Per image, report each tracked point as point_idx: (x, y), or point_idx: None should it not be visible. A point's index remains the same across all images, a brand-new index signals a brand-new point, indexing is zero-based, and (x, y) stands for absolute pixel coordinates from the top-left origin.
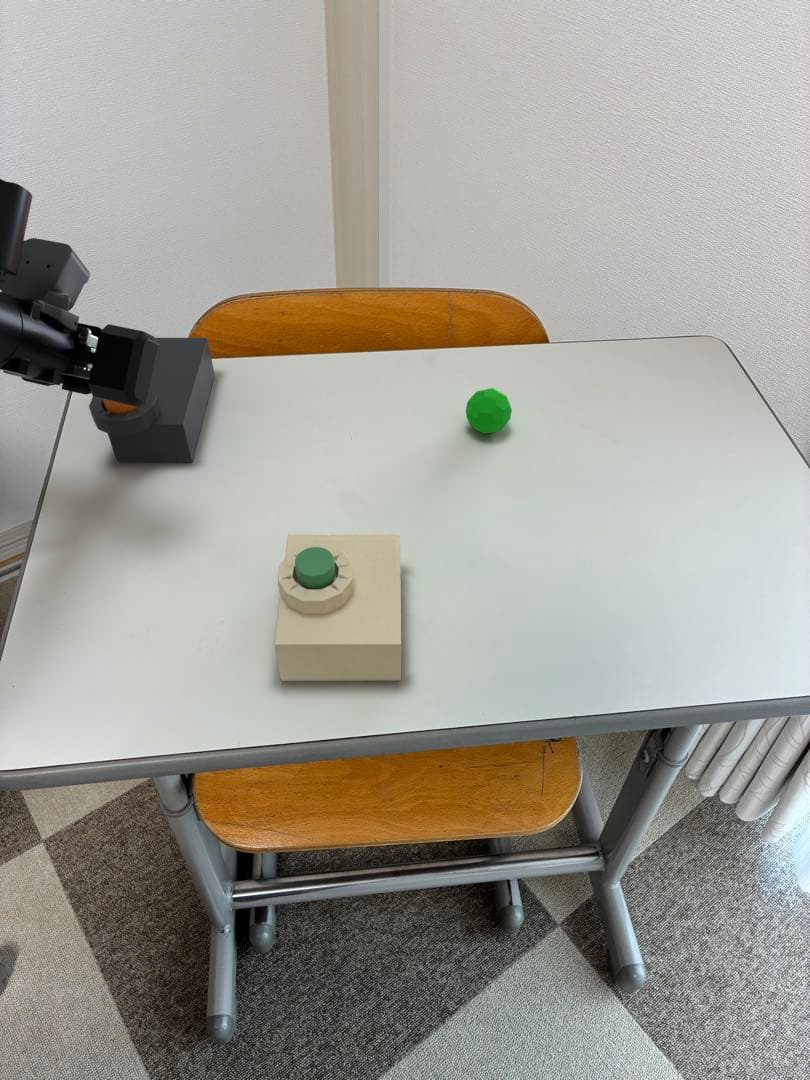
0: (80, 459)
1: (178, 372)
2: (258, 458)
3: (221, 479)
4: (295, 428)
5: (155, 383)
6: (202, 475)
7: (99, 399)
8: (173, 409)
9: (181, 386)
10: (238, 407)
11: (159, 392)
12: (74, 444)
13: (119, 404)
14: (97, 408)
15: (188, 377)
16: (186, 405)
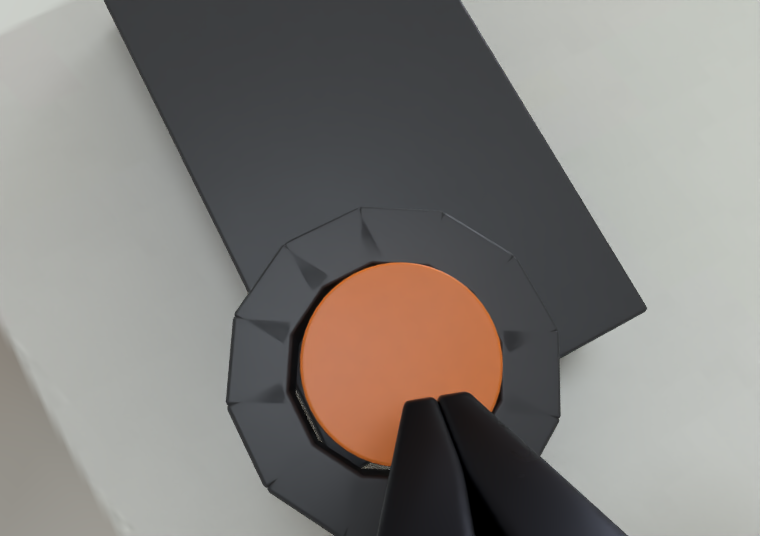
0: (204, 514)
1: (385, 27)
2: (741, 216)
3: (711, 358)
4: (741, 44)
5: (349, 132)
6: (644, 371)
7: (279, 416)
8: (542, 244)
9: (464, 100)
10: (516, 33)
11: (409, 176)
12: (125, 455)
13: None
14: (322, 483)
15: (446, 38)
16: (571, 196)
